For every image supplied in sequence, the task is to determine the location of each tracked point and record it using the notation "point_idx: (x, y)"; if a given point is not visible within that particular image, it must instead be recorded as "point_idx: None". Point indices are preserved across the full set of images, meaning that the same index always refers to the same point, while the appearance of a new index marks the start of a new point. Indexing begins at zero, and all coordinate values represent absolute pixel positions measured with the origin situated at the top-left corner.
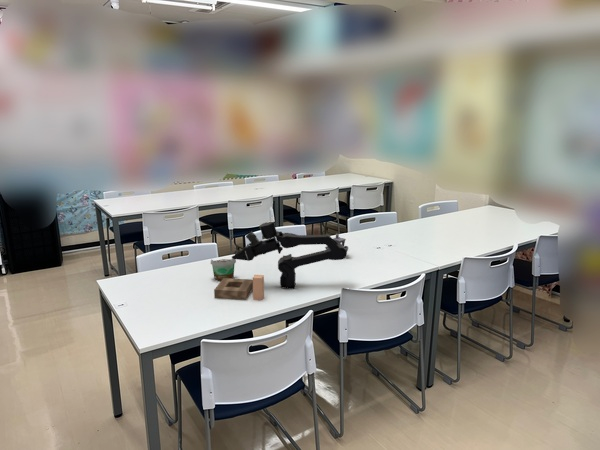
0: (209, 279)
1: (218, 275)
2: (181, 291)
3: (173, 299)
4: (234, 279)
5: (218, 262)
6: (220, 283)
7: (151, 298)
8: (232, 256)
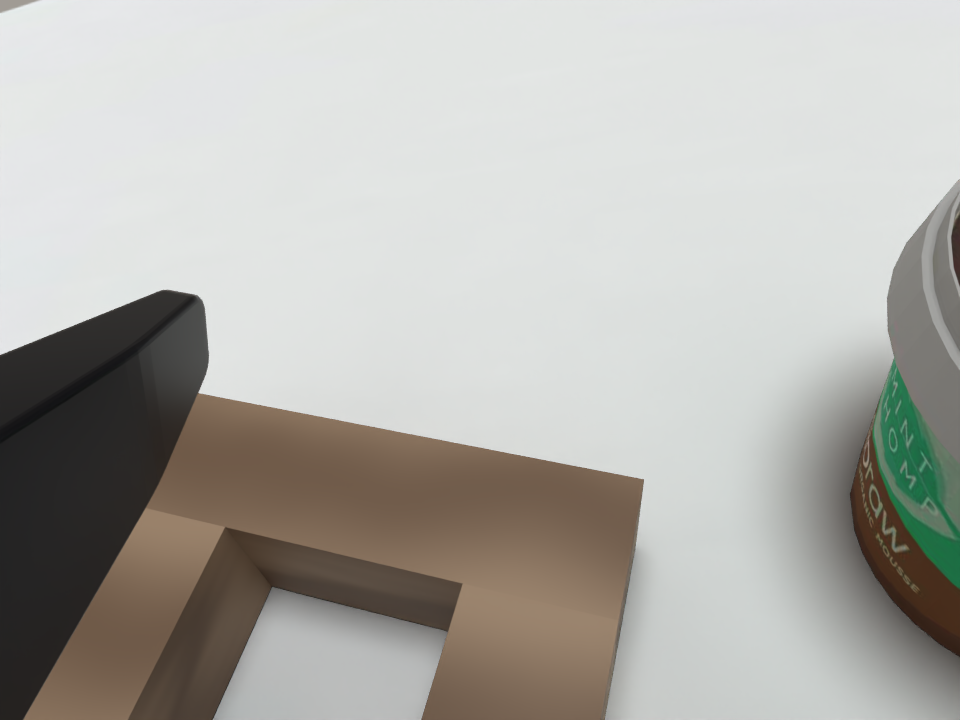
0: None
1: (877, 409)
2: (501, 152)
3: (320, 133)
4: (557, 687)
5: (942, 242)
6: (391, 450)
7: (386, 20)
8: (135, 303)
